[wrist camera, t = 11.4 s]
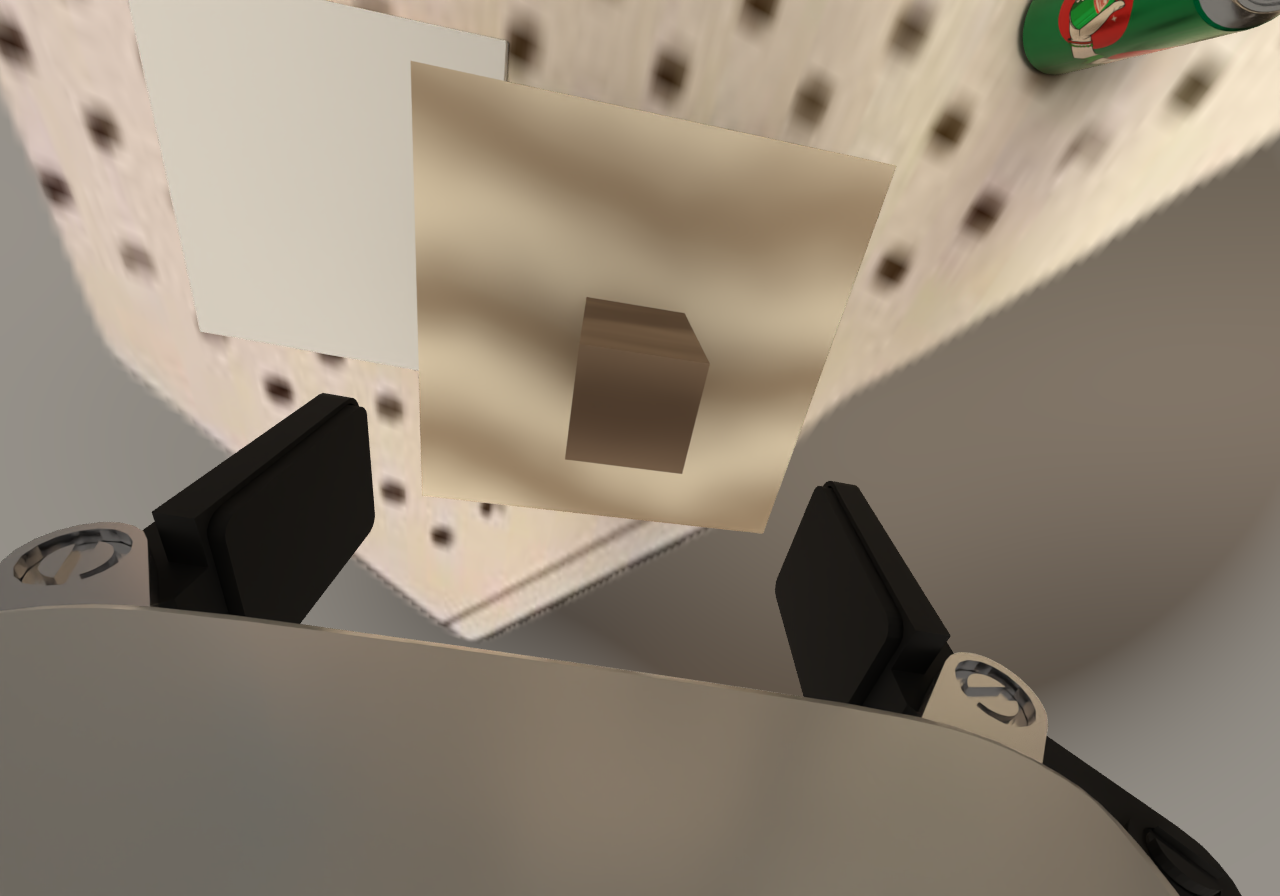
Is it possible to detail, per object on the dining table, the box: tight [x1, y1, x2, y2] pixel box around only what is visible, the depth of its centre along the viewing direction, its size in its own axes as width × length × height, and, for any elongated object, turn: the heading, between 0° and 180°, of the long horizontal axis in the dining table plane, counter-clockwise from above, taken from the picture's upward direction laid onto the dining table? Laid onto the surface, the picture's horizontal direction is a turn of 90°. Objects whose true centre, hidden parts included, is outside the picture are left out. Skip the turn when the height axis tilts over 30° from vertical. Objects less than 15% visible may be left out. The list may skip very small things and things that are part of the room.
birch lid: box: [411, 61, 896, 533], centre depth 20 cm, size 17×17×7 cm
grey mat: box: [128, 0, 509, 371], centre depth 34 cm, size 21×21×1 cm
